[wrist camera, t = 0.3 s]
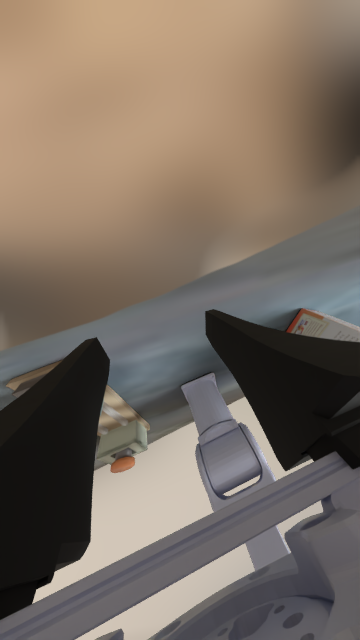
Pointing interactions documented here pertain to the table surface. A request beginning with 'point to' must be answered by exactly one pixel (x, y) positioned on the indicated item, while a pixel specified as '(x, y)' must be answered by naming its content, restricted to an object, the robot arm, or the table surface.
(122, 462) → the button
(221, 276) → the table surface
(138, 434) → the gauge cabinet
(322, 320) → the cracker box
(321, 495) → the robot arm
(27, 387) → the rail track
